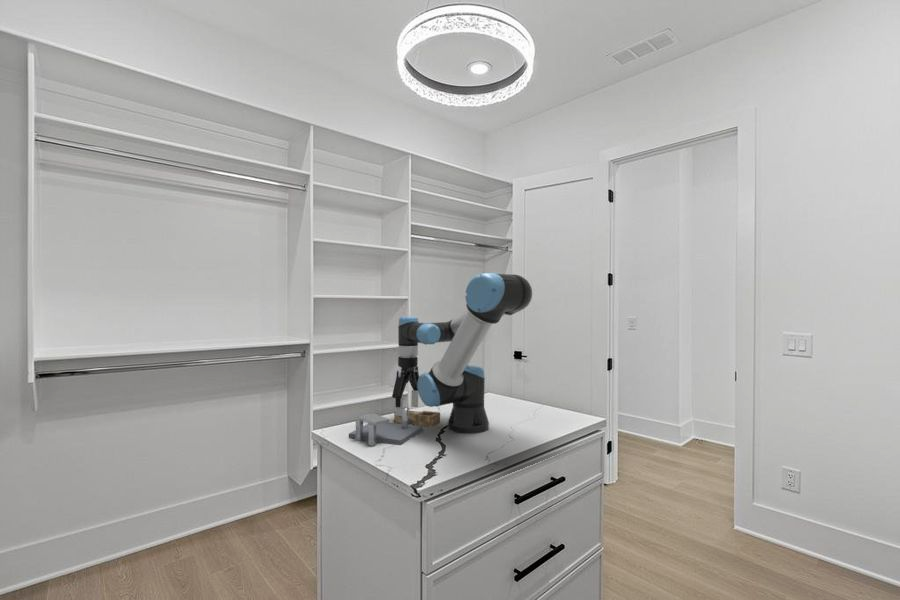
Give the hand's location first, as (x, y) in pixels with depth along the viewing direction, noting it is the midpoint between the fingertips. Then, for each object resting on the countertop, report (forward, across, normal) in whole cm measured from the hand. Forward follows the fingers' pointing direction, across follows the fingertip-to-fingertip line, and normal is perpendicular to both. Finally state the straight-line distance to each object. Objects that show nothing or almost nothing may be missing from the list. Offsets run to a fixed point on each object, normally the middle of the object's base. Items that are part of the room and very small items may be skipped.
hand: (407, 411), depth 171 cm
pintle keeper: (+4, +20, 0) cm, 21 cm away
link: (+4, 0, +4) cm, 6 cm away
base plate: (+4, +17, 0) cm, 17 cm away
